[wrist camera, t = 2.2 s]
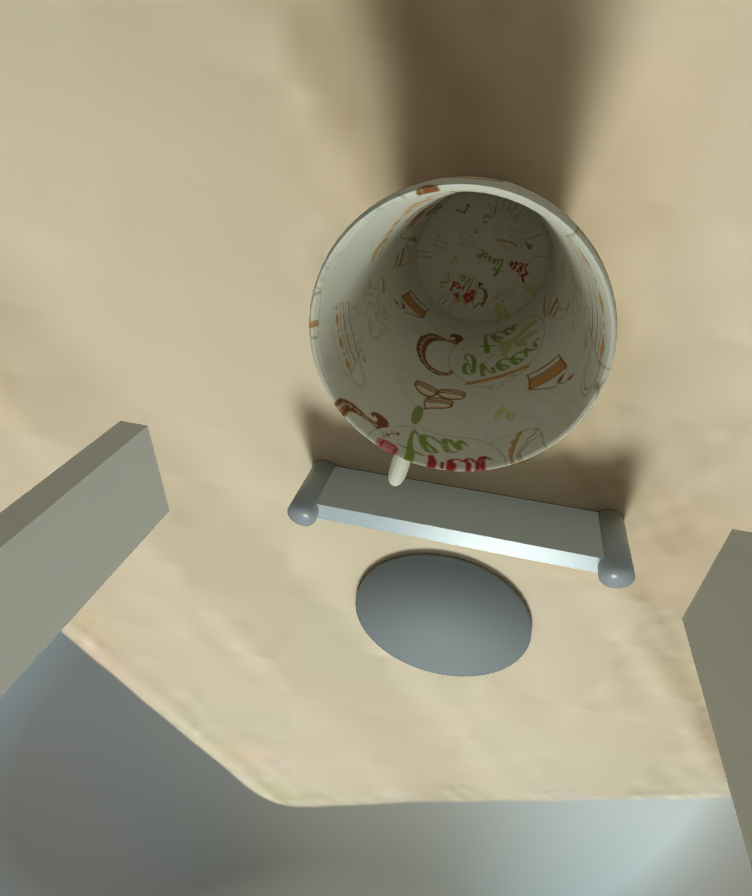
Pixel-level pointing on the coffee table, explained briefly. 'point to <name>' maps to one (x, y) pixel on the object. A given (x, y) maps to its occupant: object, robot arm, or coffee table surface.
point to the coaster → (443, 615)
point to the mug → (463, 325)
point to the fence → (469, 520)
